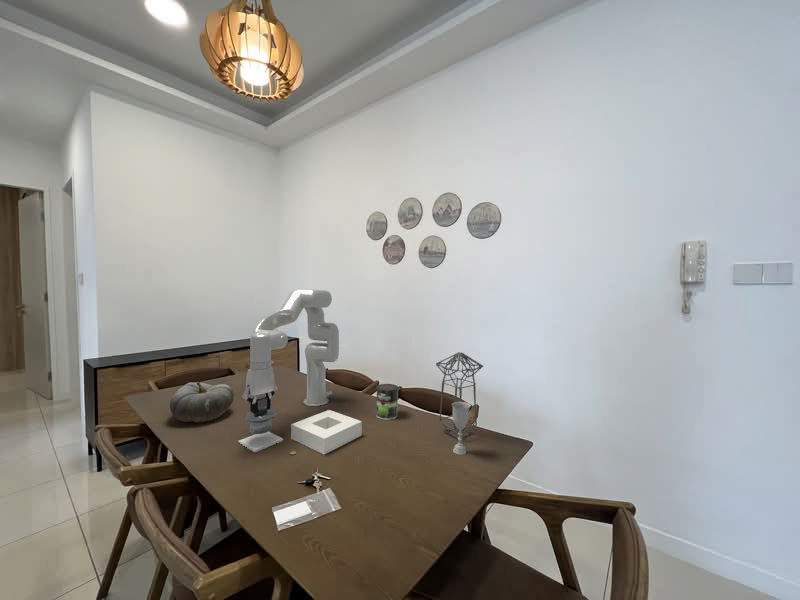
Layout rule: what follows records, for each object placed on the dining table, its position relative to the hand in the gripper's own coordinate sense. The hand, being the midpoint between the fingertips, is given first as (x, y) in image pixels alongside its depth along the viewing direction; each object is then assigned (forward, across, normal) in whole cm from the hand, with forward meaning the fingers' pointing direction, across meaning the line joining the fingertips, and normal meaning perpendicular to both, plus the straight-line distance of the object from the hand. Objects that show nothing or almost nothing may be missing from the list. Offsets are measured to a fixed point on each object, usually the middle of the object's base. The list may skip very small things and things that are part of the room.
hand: (260, 410), depth 132 cm
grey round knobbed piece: (+8, 0, 0) cm, 8 cm away
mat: (+13, 0, 0) cm, 13 cm away
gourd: (+13, +3, -43) cm, 45 cm away
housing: (+13, -19, +17) cm, 29 cm away
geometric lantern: (+13, -57, +57) cm, 82 cm away
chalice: (+13, -43, +65) cm, 79 cm away
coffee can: (+13, -52, +22) cm, 58 cm away
